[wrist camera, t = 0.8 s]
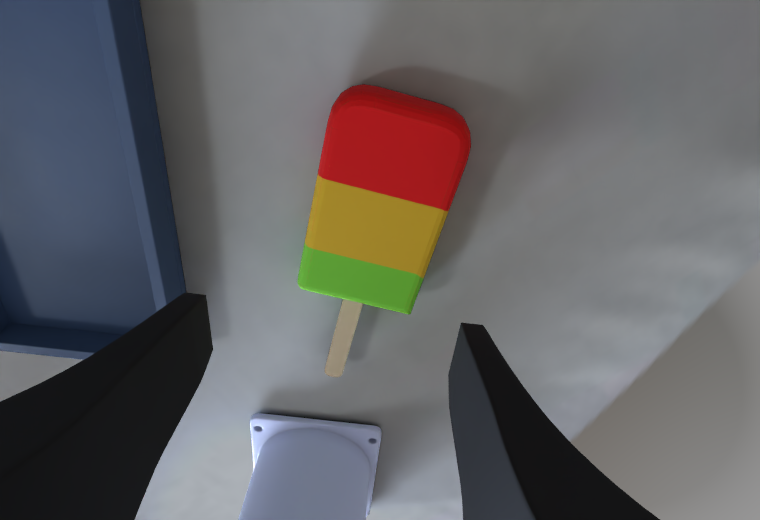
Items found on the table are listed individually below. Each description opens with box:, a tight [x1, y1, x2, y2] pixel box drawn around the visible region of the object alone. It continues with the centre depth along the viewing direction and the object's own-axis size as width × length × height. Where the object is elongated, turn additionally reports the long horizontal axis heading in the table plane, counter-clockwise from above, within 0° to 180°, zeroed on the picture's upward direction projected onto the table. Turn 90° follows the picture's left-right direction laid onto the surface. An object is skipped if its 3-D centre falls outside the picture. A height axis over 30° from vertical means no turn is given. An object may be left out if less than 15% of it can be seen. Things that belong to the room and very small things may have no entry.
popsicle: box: [298, 84, 471, 377], centre depth 21 cm, size 6×15×2 cm, turn 166°
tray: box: [0, 0, 186, 360], centre depth 20 cm, size 18×10×2 cm, turn 175°
